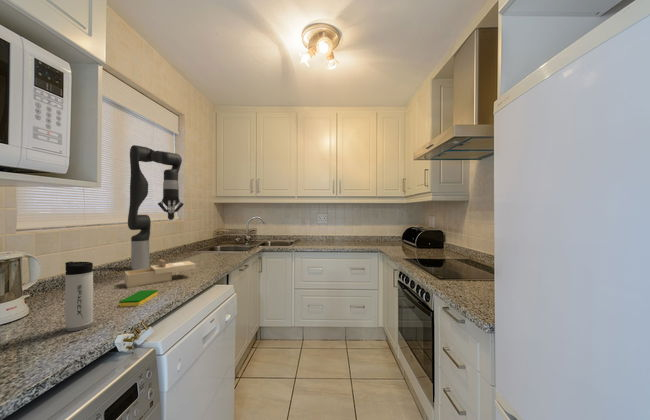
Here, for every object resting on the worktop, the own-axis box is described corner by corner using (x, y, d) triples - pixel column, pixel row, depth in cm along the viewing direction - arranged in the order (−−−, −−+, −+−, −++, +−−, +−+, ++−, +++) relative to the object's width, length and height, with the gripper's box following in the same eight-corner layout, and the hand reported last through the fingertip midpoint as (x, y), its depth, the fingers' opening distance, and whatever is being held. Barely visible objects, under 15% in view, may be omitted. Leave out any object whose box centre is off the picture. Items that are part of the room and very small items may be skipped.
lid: (150, 270, 138) (150, 260, 138) (188, 265, 151) (188, 255, 151) (155, 274, 130) (155, 263, 130) (195, 268, 143) (195, 258, 143)
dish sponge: (118, 307, 99) (118, 301, 99) (140, 296, 113) (140, 290, 113) (139, 307, 100) (139, 300, 100) (158, 295, 114) (158, 289, 114)
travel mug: (76, 323, 84) (75, 260, 84) (98, 322, 85) (98, 259, 85) (58, 332, 78) (57, 264, 78) (82, 331, 79) (82, 263, 79)
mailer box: (124, 283, 130) (124, 271, 130) (166, 277, 143) (166, 266, 143) (127, 288, 123) (127, 275, 123) (171, 280, 135) (171, 269, 135)
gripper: (182, 189, 156) (182, 219, 156) (155, 188, 147) (155, 219, 147) (185, 188, 150) (185, 219, 151) (158, 187, 142) (158, 220, 142)
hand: (170, 219), depth 149 cm, fingers closed
